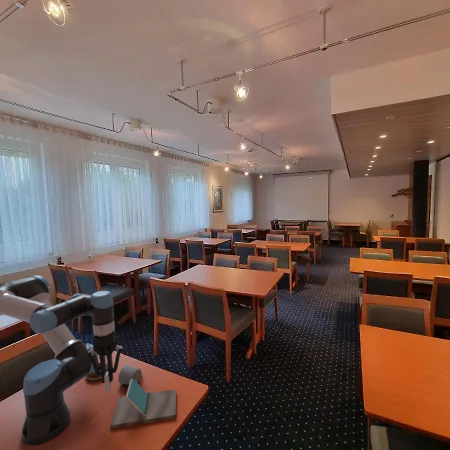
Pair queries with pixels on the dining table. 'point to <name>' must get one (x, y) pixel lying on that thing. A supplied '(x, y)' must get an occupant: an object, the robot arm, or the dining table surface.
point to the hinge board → (155, 409)
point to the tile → (137, 396)
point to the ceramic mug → (129, 374)
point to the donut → (93, 375)
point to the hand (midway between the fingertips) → (108, 389)
